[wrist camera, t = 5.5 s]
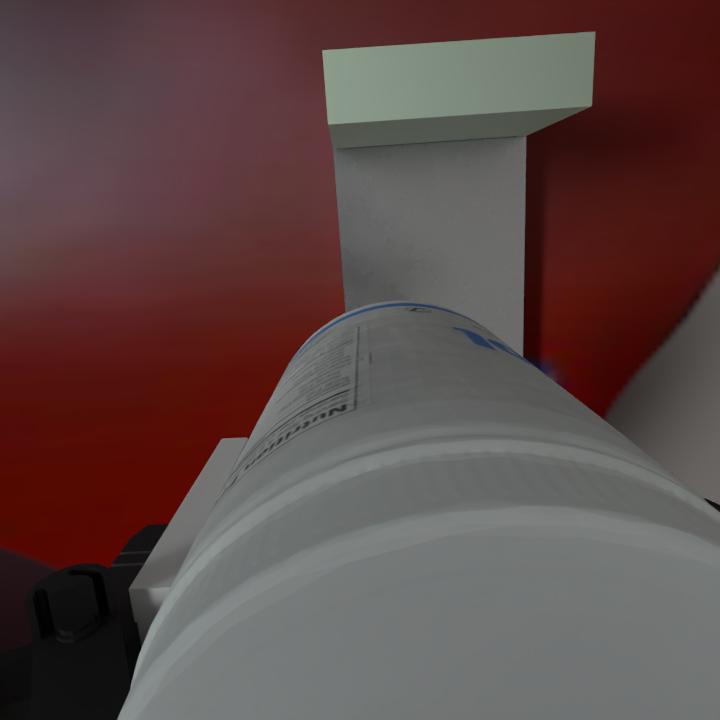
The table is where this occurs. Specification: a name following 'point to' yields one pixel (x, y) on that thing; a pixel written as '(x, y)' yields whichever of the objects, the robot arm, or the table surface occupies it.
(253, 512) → the supplement tub
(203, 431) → the table surface
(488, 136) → the block
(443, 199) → the vise
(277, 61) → the table surface
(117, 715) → the robot arm
